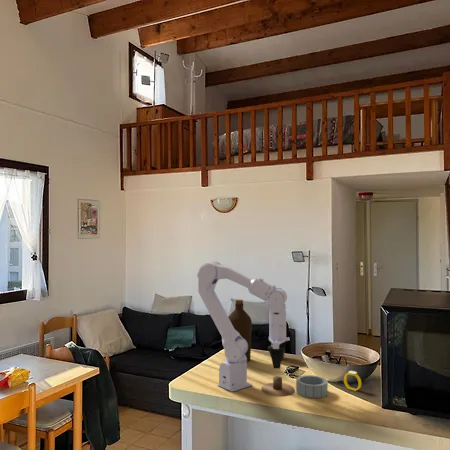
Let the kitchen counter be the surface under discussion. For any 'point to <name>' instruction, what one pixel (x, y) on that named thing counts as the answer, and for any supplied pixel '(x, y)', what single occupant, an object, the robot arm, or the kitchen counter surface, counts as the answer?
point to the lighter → (325, 358)
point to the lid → (277, 388)
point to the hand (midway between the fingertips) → (277, 364)
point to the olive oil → (242, 324)
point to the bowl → (311, 386)
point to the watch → (355, 376)
